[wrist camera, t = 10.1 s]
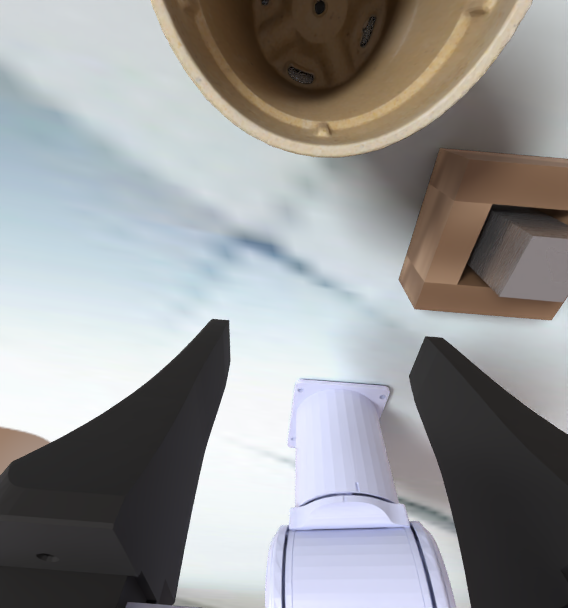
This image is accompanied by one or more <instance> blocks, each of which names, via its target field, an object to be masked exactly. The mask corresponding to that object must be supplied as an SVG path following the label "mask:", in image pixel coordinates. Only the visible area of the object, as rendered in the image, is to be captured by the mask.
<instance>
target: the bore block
mask: <svg viewBox="0 0 568 608" xmlns="http://www.w3.org/2000/svg"><path fill="white" fill-rule="evenodd" d="M492 204H498V205H510V206H522V207H532V208H534V209H536V210H539V211H541V212H543V213H545V214H547V215H549V216H551V217H553V218H555V219H557V220H559V221H561V222H563V223H565V224H567V225H568V159H562V158H551V157H539V156H527V155H515V154H504V153H492V152H480V151H468V150H457V149H445V148H440V149H439V153H438V156H437V159H436V162H435V165H434V168H433V172H432V175H431V178H430V181H429V184H428V188H427V191H426V194H425V197H424V200H423V203H422V207H421V210H420V213H419V216H418V219H417V223H416V226H415V229H414V232H413V235H412V239H411V242H410V245H409V248H408V251H407V254H406V258H405V261H404V264H403V267H402V270H401V274H400V277H399V281H400V283H401V285H402V287H403V289H404V290H405V292H406V294H407V296H408V298H409V300H410V302H411V303H412V305H413V307H414V309H420V310H432V311H444V312H456V313H468V314H481V315H493V316H505V317H517V318H529V319H541V320H552V319H553V317H554V316H555V314H556V313H557V311H558V310H559V309H560V307H561V306H562V304H563V303H564V302H553V301H542V300H531V299H520V298H509V297H499V296H498V295H497V294H496V293H495V292H494V291H493V289H492V288H491V287H490V286H489V285H488V284H487V283H486V282H485V281H484V280H483V279H482V278H481V277H480V276H479V275H478V274H477V273H476V272H475V271H474V270H473V269H472V268H471V267H470V266H469V265H468V264H467V261H468V259H469V256H470V254H471V252H472V250H473V247H474V245H475V243H476V240H477V238H478V236H479V234H480V231H481V229H482V227H483V224H484V222H485V220H486V218H487V215H488V213H489V211H490V208H491V206H492ZM567 297H568V296H567ZM567 297H566V298H567ZM565 300H566V299H565ZM565 300H564V301H565Z"/></svg>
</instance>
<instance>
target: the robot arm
mask: <svg viewBox="0 0 568 608" xmlns="http://www.w3.org/2000/svg"><path fill="white" fill-rule="evenodd" d="M229 366H230V335H229V320H218V319H212V320H211V321H209V322H208V324H207V325H206V326H205V327H204V328H203V329H202V330H201V332H200V333H199V334H198V335H197V336H196V337H195V338H194V339H193V340H192V341H191V342H190V343H189V344H188V345H187V346H186V347H185V348H184V349H183V350H182V351H181V352H180V353H179V354H178V355H177V356H176V357H175V358H174V359H173V360H172V361H171V362H170V363H169V364H168V365H167V366H165V367H164V368H163V369H162V370H161V371H160V372H159V373H158V374H156V375H155V376H154V377H153V378H152V379H150V380H149V381H148V382H147V383H145V384H144V385H143V386H141V387H140V388H139V389H138V390H136V391H135V392H134V393H132V394H131V395H129V396H128V397H127V398H125V399H124V400H122V401H121V402H119V403H118V404H116V405H115V406H113V407H112V408H110V409H109V410H107V411H106V412H104V413H103V414H101V415H100V416H98V417H96V418H94V419H93V420H91V421H89V422H88V423H86V424H84V425H83V426H81V427H79V428H77V429H76V430H74V431H72V432H70V433H68V434H67V435H65V436H63V437H61V438H59V439H57V440H55V441H53V442H51V443H49V444H47V445H45V446H43V447H41V448H39V449H37V450H35V451H33V452H31V453H29V454H27V455H26V456H23V457H21V458H19V459H17V460H15V461H13V462H12V463H11V464H10V465H9V466H8V467H7V468H6V469H5V471H4V472H3V473H2V474H1V475H0V608H200V607H187V606H174V605H173V604H174V602H175V598H176V592H177V587H178V581H179V576H180V570H181V565H182V559H183V554H184V549H185V544H186V539H187V533H188V528H189V523H190V518H191V513H192V508H193V504H194V499H195V494H196V489H197V485H198V480H199V475H200V471H201V466H202V462H203V457H204V453H205V450H206V446H207V442H208V439H209V436H210V433H211V430H212V427H213V424H214V421H215V418H216V414H217V411H218V408H219V405H220V402H221V399H222V396H223V393H224V389H225V386H226V381H227V377H228V371H229ZM409 378H410V383H411V388H412V392H413V396H414V400H415V403H416V406H417V409H418V412H419V414H420V417H421V420H422V422H423V425H424V428H425V430H426V433H427V435H428V438H429V441H430V443H431V446H432V448H433V451H434V454H435V456H436V459H437V462H438V465H439V468H440V471H441V474H442V477H443V481H444V485H445V488H446V492H447V496H448V499H449V503H450V507H451V511H452V516H453V520H454V524H455V528H456V532H457V537H458V541H459V546H460V551H461V555H462V560H463V565H464V570H465V575H466V581H467V586H468V592H469V597H470V603H471V608H568V434H566V433H565V432H563V431H561V430H560V429H558V428H557V427H555V426H554V425H552V424H551V423H550V422H548V421H547V420H545V419H544V418H542V417H541V416H539V415H538V414H536V413H535V412H534V411H532V410H531V409H529V408H528V407H527V406H525V405H524V404H523V403H521V402H520V401H519V400H517V399H516V398H515V397H513V396H512V395H511V394H510V393H508V392H507V391H506V390H504V389H503V388H502V387H501V386H499V385H498V384H497V383H496V382H494V381H493V380H492V379H491V378H490V377H488V376H487V375H486V374H485V373H484V372H482V371H481V370H480V369H479V368H478V367H477V366H475V365H474V364H473V363H472V362H471V361H470V360H468V359H467V358H466V357H465V356H464V355H463V354H461V353H460V352H459V351H458V350H457V349H456V348H454V347H453V346H452V345H451V344H449V343H448V342H447V341H446V340H444V339H443V338H438V337H426V336H425V339H424V341H423V343H422V346H421V348H420V351H419V353H418V355H417V358H416V360H415V363H414V365H413V367H412V370H411V372H410V375H409ZM300 388H301V389H300ZM389 394H390V390H389V388H388V387H387V386H379V385H367V384H354V383H342V382H330V381H317V380H305V379H299V380H297V381H296V383H295V389H294V397H293V404H292V412H291V420H290V427H289V435H288V446H289V447H291V448H296V481H295V508H290V514H289V525H282V526H280V527H279V529H278V531H277V533H276V534H275V535H274V537H273V538H272V540H271V543H270V547H269V553H268V560H267V570H266V588H265V608H456V604H455V600H454V596H453V592H452V588H451V584H450V581H449V577H448V574H447V571H446V568H445V564H444V561H443V559H442V556H441V553H440V551H439V548H438V546H437V543H436V541H435V539H434V538H433V536H432V535H431V533H430V532H429V531H427V530H426V529H425V528H424V527H423V525H422V524H421V523H420V522H419V521H409V519H408V515H407V511H406V507H405V505H404V504H399V501H398V497H397V493H396V489H395V485H394V481H393V476H392V472H391V468H390V464H389V460H388V456H387V452H386V448H385V444H384V440H383V436H382V431H381V427H380V423H379V420H380V417H381V415H382V412H383V410H384V407H385V404H386V402H387V399H388V397H389Z"/></svg>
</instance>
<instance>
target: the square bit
mask: <svg viewBox="0 0 568 608" xmlns="http://www.w3.org/2000/svg"><path fill="white" fill-rule="evenodd" d="M467 264H468V265H469V266H470V267H471V268H472V269H473V270H474V271H475V272H476V273H477V274H478V275H479V276H480V277H481V278H482V279H483V280H484V281H485V282H486V283H487V284H488V285H489V286H490V287H491V288H492V289H493V291H494V292H495V293H496V294H497V295H498V296H499V297H509V298H520V299H531V300H542V301H553V302H564V300H565V299H566V297H567V296H568V225H567V224H565V223H563V222H561V221H559V220H557V219H555V218H553V217H551V216H549V215H547V214H545V213H543V212H541V211H539V210H536V209H534V208H532V207H522V206H510V205H498V204H492V206H491V208H490V211H489V213H488V215H487V218H486V220H485V222H484V224H483V227H482V229H481V231H480V234H479V236H478V238H477V240H476V243H475V245H474V247H473V250H472V252H471V254H470V256H469V259H468V261H467Z"/></svg>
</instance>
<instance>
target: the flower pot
mask: <svg viewBox="0 0 568 608" xmlns="http://www.w3.org/2000/svg"><path fill="white" fill-rule="evenodd" d="M318 1H320V0H268V3H267V4H266V5H264V4H262V0H151V3H152V7H153V9H154V11H155V13H156V16H157V18H158V21H159V23H160V25H161V28H162V31H163V33H164V35H165V37H166V38H167V40H168V41H169V44H170V47H171V48H172V50H173V51H174V53H175V55H176V57H177V58H178V60H179V61H180V63H181V64H182V66H183V68H184V70H185V71H186V73H187V74H188V75H189V77H190V78H191V80H192V81H193V82H194V83H195V85H196V86H197V87H198V89H199V90H200V91H201V93H202V94H203V95H204V97H205V98H206V99H207V100H208V101H209V102H210V103H211V104H212V105H213V106H214V107H215V108H217V109H218V110H219V111H220V112H221V113H222V114H223V115H224V116H225V117H226V118H227V119H228V120H230V121H231V122H232V123H233V124H234V125H236V126H237V127H239V128H240V129H241V130H243V131H245V132H246V133H247V134H249V135H251V136H253V137H255V138H257V139H259V140H261V141H263V142H265V143H267V144H268V145H271V146H272V147H276V148H279V149H282V150H284V151H288V152H292V153H295V154H300V155H306V156H312V157H333V158H339V157H347V156H354V155H360V154H364V153H368V152H372V151H376V150H380V149H383V148H385V147H387V146H389V145H392V144H394V143H396V142H399V141H401V140H403V139H405V138H407V137H409V136H410V135H412V134H414V133H416V132H418V131H419V130H421V129H422V128H424V127H426V126H427V125H429V124H430V123H432V122H433V121H434V120H436V119H438V118H439V117H440V116H442V114H443V113H445V112H446V111H447V110H448V109H450V108H451V107H452V106H453V105H454V104H455V103H457V102H458V101H459V100H460V99H461V98H462V97H463V96H464V95H465V94H466V93H467V92H468V91H469V90H470V89H471V87H472V86H473V85H474V84H476V83H477V82H478V80H479V79H480V78H481V77H482V76H483V75H484V74H485V73H486V71H487V69H488V68H489V67H490V66H491V64H492V63H493V62H494V61H495V60H496V58H497V57H498V55H499V54H500V52H501V51H502V50H503V48H504V47H505V46H506V44H507V43H508V42H509V41H510V39H511V38H512V36H513V35H514V33H515V31H516V29H517V27H518V25H519V24H520V22H521V21H522V19H523V18H524V16H525V14H526V12H527V11H528V9H529V8H530V6H531V4H532V1H533V0H321V1H323V2H324V5H325V9H324V11H323V12H322V13H321V14H317V13H316V11H315V5H316V3H317V2H318ZM371 17H375V18H376V20H375V23H374V27H373V30H372V32H371V35H370V38H369V40H368V42H367V43H366V44H365V45H364V46H362V47H361V46H360V43H361V41H362V38H363V35H364V32H363V28H364V29H365V28H366V26H367V24H368V22H369V19H370V18H371ZM290 67H293V68H296V69H297V70H300V71H303V72H305V73H308V74H312V75H313V82H312V83H306V84H304V83H300V82H299V81H295V80H294V79H292V77H291V76H290V75H289V73H288V69H289V68H290Z"/></svg>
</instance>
